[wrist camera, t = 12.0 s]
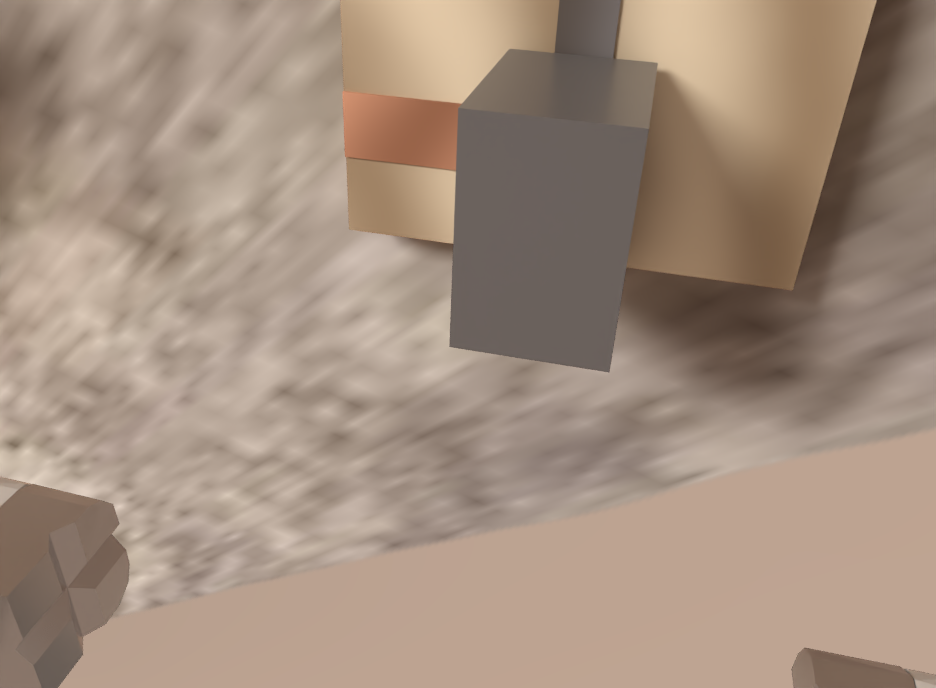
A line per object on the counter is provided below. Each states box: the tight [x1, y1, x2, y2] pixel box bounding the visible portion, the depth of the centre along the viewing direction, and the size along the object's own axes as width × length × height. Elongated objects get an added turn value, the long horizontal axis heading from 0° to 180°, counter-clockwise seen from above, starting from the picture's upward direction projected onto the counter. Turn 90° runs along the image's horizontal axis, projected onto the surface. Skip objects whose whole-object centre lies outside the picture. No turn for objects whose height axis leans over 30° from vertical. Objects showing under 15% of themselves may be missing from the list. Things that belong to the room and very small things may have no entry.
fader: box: [450, 49, 658, 372], centre depth 21 cm, size 4×6×6 cm, turn 177°
